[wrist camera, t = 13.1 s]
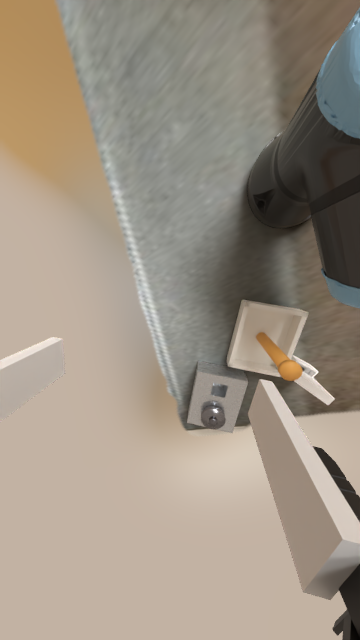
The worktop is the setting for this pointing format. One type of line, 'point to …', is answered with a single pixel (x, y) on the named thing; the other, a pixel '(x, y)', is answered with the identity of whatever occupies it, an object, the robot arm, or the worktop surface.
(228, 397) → the block
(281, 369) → the lock pin
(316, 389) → the white wedge bracket
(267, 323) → the tray
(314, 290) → the worktop surface
